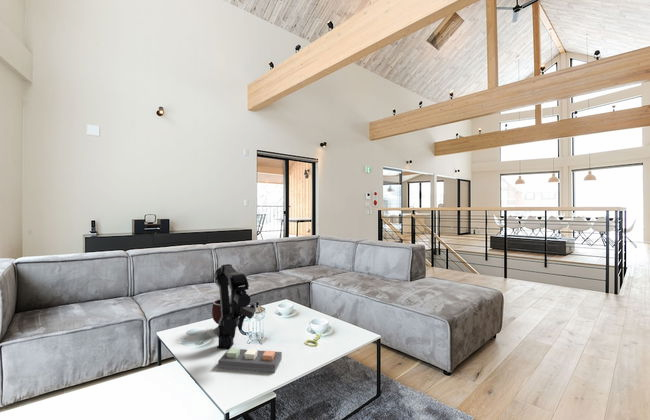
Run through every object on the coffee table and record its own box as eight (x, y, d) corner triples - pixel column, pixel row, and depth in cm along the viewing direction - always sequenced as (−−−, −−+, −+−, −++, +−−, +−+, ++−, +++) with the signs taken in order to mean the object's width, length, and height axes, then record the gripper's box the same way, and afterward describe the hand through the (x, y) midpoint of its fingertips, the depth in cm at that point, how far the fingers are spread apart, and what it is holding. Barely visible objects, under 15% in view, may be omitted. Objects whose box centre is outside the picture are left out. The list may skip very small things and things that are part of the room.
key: (321, 337, 173) (321, 333, 173) (317, 347, 161) (317, 343, 161) (309, 336, 175) (309, 332, 175) (303, 346, 162) (303, 342, 162)
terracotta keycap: (262, 360, 140) (262, 355, 140) (265, 355, 144) (265, 350, 144) (272, 361, 139) (272, 355, 139) (275, 356, 144) (275, 351, 144)
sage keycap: (226, 358, 142) (226, 352, 142) (230, 353, 146) (230, 348, 146) (236, 358, 141) (236, 353, 141) (240, 354, 146) (240, 348, 146)
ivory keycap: (244, 359, 141) (244, 353, 141) (248, 354, 145) (248, 349, 145) (254, 360, 140) (254, 354, 140) (257, 355, 145) (257, 349, 145)
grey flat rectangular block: (218, 368, 138) (218, 360, 138) (229, 355, 150) (229, 348, 150) (274, 372, 136) (275, 364, 136) (281, 359, 148) (281, 352, 147)
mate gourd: (227, 336, 171) (228, 301, 171) (206, 333, 175) (207, 298, 175) (242, 326, 186) (243, 293, 186) (222, 323, 190) (223, 291, 190)
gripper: (247, 308, 134) (247, 343, 134) (259, 295, 153) (259, 327, 153) (222, 307, 135) (222, 342, 135) (237, 294, 154) (237, 325, 154)
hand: (236, 334), depth 144 cm, fingers open, 9 cm apart
